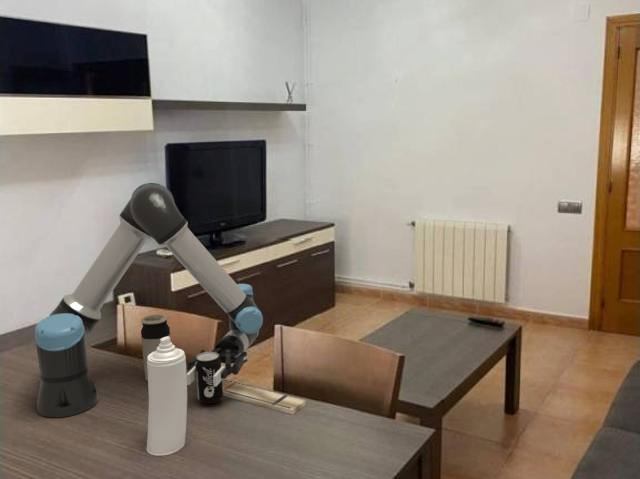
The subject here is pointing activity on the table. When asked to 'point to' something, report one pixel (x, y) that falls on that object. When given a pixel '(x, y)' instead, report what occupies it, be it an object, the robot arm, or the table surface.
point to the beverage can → (208, 377)
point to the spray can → (166, 399)
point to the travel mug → (153, 335)
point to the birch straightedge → (262, 397)
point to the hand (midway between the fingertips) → (201, 380)
